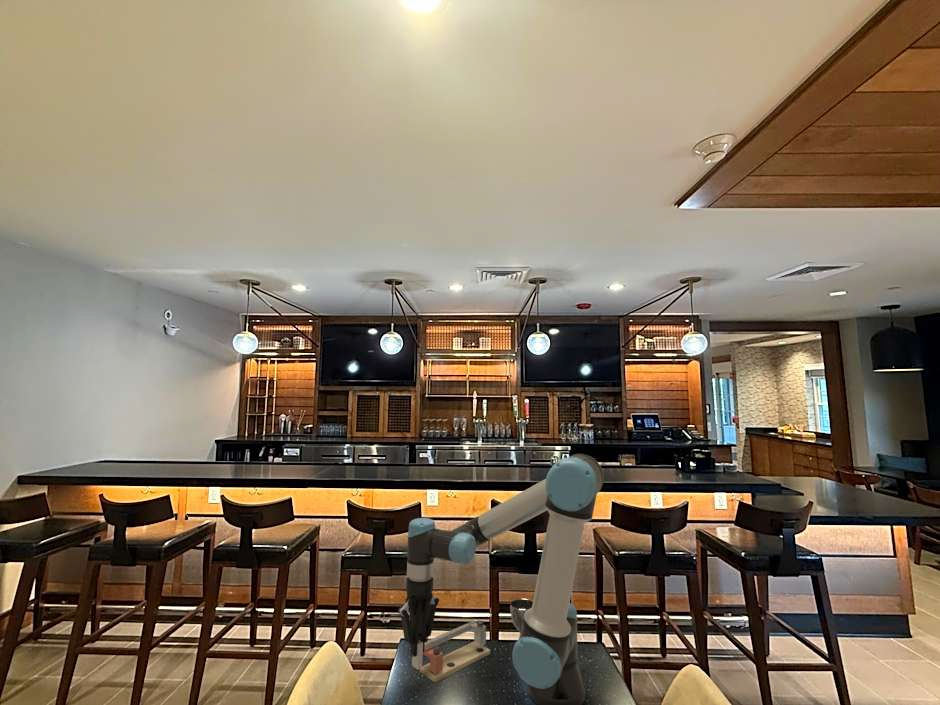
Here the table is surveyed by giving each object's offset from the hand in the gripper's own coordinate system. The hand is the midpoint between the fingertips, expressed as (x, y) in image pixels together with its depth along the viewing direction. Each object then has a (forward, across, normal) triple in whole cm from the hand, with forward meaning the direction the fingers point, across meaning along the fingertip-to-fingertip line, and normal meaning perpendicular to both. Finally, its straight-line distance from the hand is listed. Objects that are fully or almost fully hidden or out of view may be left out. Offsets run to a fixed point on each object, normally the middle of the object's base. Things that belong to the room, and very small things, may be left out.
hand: (417, 666), depth 125 cm
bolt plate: (+5, -16, -1) cm, 16 cm away
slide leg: (+3, -7, -2) cm, 8 cm away
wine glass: (+5, -34, +10) cm, 35 cm away
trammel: (+4, -15, -1) cm, 16 cm away
